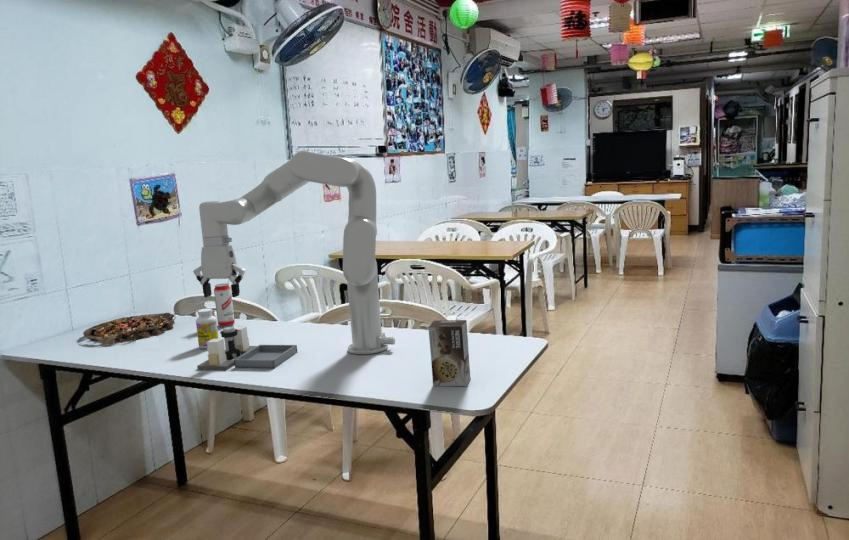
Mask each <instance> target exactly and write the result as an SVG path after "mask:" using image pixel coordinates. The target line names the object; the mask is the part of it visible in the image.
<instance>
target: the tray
mask: <svg viewBox="0 0 849 540" xmlns="http://www.w3.org/2000/svg"><path fill="white" fill-rule="evenodd" d="M256 346H257V347H255V348H253V349H252V350H250V351H248V352H247V353H245V354H243V355H242V356H240V357H238V358H237V359H235V360H234V363H235V366H234V368H235V369H270V370H271V369H276V368H278V367H279V366H280V365H282V364H283V363H284V362H286V361H287V360H289V359H290V358H292V357H293V356H295V355H296V354H297V353H298V346H297V344H258V345H256Z"/></svg>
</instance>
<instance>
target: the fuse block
mask: <svg viewBox="0 0 849 540" xmlns="http://www.w3.org/2000/svg"><path fill="white" fill-rule="evenodd" d="M234 328H235V329H237V330H238V332H237V335H236V336H235V339H236V347H237V348H236V349H240V356H242V355H243V354H245V353H247V352H248V351H250V350H252V349H253V348H255V347H257V346H258V345H250V341H249V337H248V336H249V335H248V329H247V326H234ZM207 346H208V349H207V352H208V354H207V360H205V361H203V362H202V363H200V364H198V365H196V367H197V371H203V370H204V371H228V370H230V369H232V368H234V367H235V363H234V360H235V359H237V358H238V357H237V358H235V359H232V360H227V358H226V354H225V352H226V351H225V350H226V349H225V341H224V338H219V339H212V340H210V341H208V342H207ZM240 356H239V357H240Z"/></svg>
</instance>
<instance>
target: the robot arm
mask: <svg viewBox="0 0 849 540" xmlns="http://www.w3.org/2000/svg"><path fill="white" fill-rule="evenodd" d="M309 182H311V183H316V184H322V185H328V186H334V187H339V188H347V190H348V191H347V192H348V204H347V205H348V213H347V214H348V217H347V218H348V219H347V224H346V225H345V227H344V230H343V236H342V238H343V239H342V240H343V242H342V245H343V246H342V274H343V277H344V278H345V280H346V281H347V295H348V297H347V298H348V309H349V318H350V330H351V340H352V341H351V342H352V343H351V344H349V346H348V347H347V351H348V352H349V353H350V354H354V355H371V354H372V355H373V354H377V353H381V352H385V351H386V350H387V349H388V348H389V347H388V346H389V345H392V346H393V345H394V346H395V344H396V339H395V338H394V336H386V334H385V333H386V332H383V331H382V329H383V328H382V321H381V320H382V317H381V307H380V306H381V305H380V293H379V291H380V290H379V276H378V275H379V274H378V273H379V272H378V271H379V270H378V263H377V259H376V247H377V246H376V245H377V244H376V242H377V235H378V230H377V229H378V227H377V187H376V182H375V179H374V177H373V175H372V173H371V171H370V170H369V169H368V168H367V167H366V166H365V165H364V164H362V163H360V162H359V161H357V160H355V159H353V158H350V157H343V156H334V155H329V154H323V153H319V152H318V153H317V152H315V151H311V150H305V149H304V150H300V151H297V152H296V153H295V154H294V155H292V157H291V159H289V160H288V161H286V162H285V163H283V164H281V166H279V167H277V168H276V169H274V170H273V171H271V172H269V173H268V174H267V175H266V176H265V177H264V179H262V182H261V183H259V184H258V185H257V186H255V188H253V189H251V190H250V191H247V193H246V194H243V195H242V196H241V197H239V198H237V199H236V198H234V199H231V200H227V201H221V200H213V201H212V200H211V201H204V202H201V203H200V204H199V206H198V207H199V208H198V210H199V217H200V227H201V236H202V245H203V246H202V247H201V250H200V251H201V252H200V266H198V267H197V268H195V269H194V270H193V271H192V273H193V274H194V276H195V277H196V280H197V281H199V284H200V285H201V286H202V293H203V296H204V298H208V297H211V296H212V295H213V294H212V285H211V283H210V280H213V279H214V280H215V279H217V280H218V279H219V280H220V279H221V280H222V279H228V280H229V281H230V283H231V285H230V288H231V295H232V298H237V297H239V296H240V292H241V291H240V290H241V289H240V282H241V281H242V280H243V279H244V276H245V273H246V268H245V269H244V267H242V266H239V265H237V264H238V263H237V259H236V255H235V251H234V248H233V245H232V244H230V243H232V242H233V239H232V237H229V236H230V235H229V232H228V225H233V226H234V225H235V226H237V225H242V224H245V223H246V222H249V221H251V220H252V219H255V218H256V217H257V216H258V215H260V214H262V213H264V212H265V211H266V210H268V209H269V208H270V207H272V206H274V205H275V204H278V203H279V202H281V201H283V200H284V199H285V198H286V197H288V196H290V195H292V194H293V193H294V192H296V191H297V190H299V189H300V188H302V187H303V186H305V185H307V184H308V183H309Z"/></svg>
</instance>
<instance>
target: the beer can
mask: <svg viewBox="0 0 849 540" xmlns="http://www.w3.org/2000/svg"><path fill="white" fill-rule="evenodd" d="M213 294H214V303H215V312H216V321H217V326H219V327H220V328H225V327H233V325H234V324H235V323H236V322H235V321H236V320H235V313H234V305H233V297H232V291H231V286H230V285H229V283H219V284H214V289H213Z"/></svg>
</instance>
